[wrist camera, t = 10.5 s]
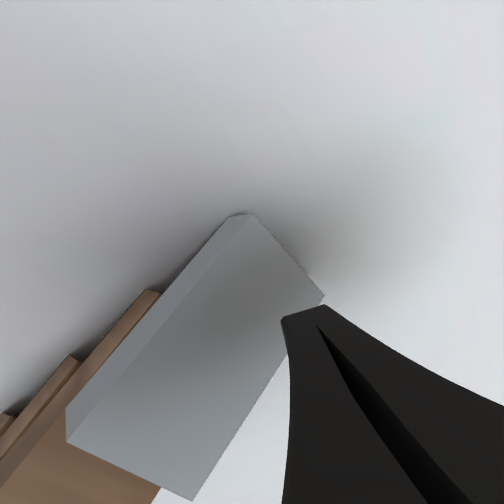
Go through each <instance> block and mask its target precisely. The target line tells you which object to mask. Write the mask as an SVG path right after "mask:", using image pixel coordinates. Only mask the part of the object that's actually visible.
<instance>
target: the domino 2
mask: <svg viewBox="0 0 504 504" xmlns="http://www.w3.org/2000/svg"><path fill="white" fill-rule="evenodd" d="M323 297H324V294H323V293H322V292H321V290H320V289H319V288H318V287H317V286H316V285H315V284H314V282H313V281H312V280H311V279H310V278H309V277H308V276H307V274H306V273H305V272H304V271H303V270H302V269H301V268H300V266H299V265H298V264H297V263H296V262H295V261H294V259H293V258H292V257H291V256H290V255H289V254H288V253H287V251H286V250H285V249H284V248H283V247H282V246H281V245H280V243H279V242H278V241H277V240H276V239H275V238H274V237H273V235H272V234H271V233H270V232H269V231H268V230H267V229H266V227H265V226H264V225H263V224H262V223H261V222H260V221H259V219H258V218H257V217H256V216H255V215H254V214H246V215H238V216H230V217H228V218H227V219H226V220H225V222H224V223H223V224H222V225H221V226H220V227H219V229H218V230H217V231H216V232H215V233H214V235H213V236H212V237H211V238H210V239H209V240H208V242H207V243H206V244H205V245H204V246H203V247H202V249H201V250H200V251H199V252H198V253H197V255H196V256H195V257H194V258H193V259H192V260H191V262H190V263H189V264H188V265H187V266H186V267H185V269H184V270H183V271H182V272H181V273H180V274H179V276H178V277H177V278H176V279H175V280H174V282H173V283H172V284H171V285H170V286H169V287H168V289H167V290H166V291H165V292H164V293H163V294H162V296H161V297H160V298H159V299H158V300H157V301H156V303H155V304H154V305H153V306H152V307H151V309H150V310H149V311H148V312H147V313H146V314H145V316H144V317H143V318H142V319H141V320H140V321H139V323H138V324H137V325H136V326H135V327H134V329H133V330H132V331H131V332H130V333H129V334H128V336H127V337H126V338H125V339H124V340H123V341H122V343H121V344H120V345H119V346H118V347H117V348H116V350H115V351H114V352H113V353H112V354H111V356H110V357H109V358H108V359H107V360H106V361H105V363H104V364H103V365H102V366H101V367H100V368H99V370H98V371H97V372H96V373H95V374H94V375H93V377H92V378H91V379H90V380H89V381H88V383H87V384H86V385H85V386H84V387H83V388H82V390H81V391H80V392H79V393H78V394H77V395H76V397H75V398H74V399H73V400H72V401H71V402H70V404H69V405H68V406H67V407H66V408H65V413H66V442H67V443H69V444H71V445H74V446H76V447H78V448H80V449H82V450H84V451H86V452H88V453H90V454H93V455H95V456H97V457H99V458H101V459H103V460H105V461H107V462H109V463H112V464H114V465H116V466H118V467H120V468H122V469H124V470H126V471H128V472H131V473H133V474H135V475H137V476H139V477H141V478H143V479H145V480H147V481H150V482H152V483H154V484H156V485H158V486H160V487H162V488H164V489H167V490H169V491H171V492H173V493H175V494H177V495H179V496H181V497H183V498H186V499H188V500H190V501H193V500H194V498H195V497H196V495H197V493H198V492H199V490H200V489H201V487H202V486H203V484H204V483H205V481H206V479H207V478H208V476H209V475H210V473H211V472H212V470H213V469H214V467H215V465H216V464H217V462H218V461H219V459H220V458H221V456H222V454H223V453H224V451H225V450H226V448H227V447H228V445H229V444H230V442H231V440H232V439H233V437H234V436H235V434H236V433H237V431H238V430H239V428H240V426H241V425H242V423H243V422H244V420H245V419H246V417H247V415H248V414H249V412H250V411H251V409H252V408H253V406H254V405H255V403H256V401H257V400H258V398H259V397H260V395H261V394H262V392H263V391H264V389H265V387H266V386H267V384H268V383H269V381H270V380H271V378H272V377H273V375H274V373H275V372H276V370H277V369H278V367H279V366H280V364H281V362H282V361H283V359H284V358H285V356H286V355H287V349H286V344H285V340H284V336H283V331H282V327H281V322H280V320H281V319H282V318H283V316H287V315H290V314H293V313H297V312H300V311H303V310H307V309H310V308H313V307H317V306H318V305H319V303H320V302H321V300H322V299H323Z"/></svg>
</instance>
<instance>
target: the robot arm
mask: <svg viewBox="0 0 504 504" xmlns="http://www.w3.org/2000/svg"><path fill="white" fill-rule="evenodd" d="M280 322H281V327H282V331H283V336H284V340H285V344H286V349H287V353H288V358H289V369H290V420H289V437H288V450H287V461H286V470H285V479H284V488H283V496H282V504H504V406H503V405H500V404H498V403H496V402H494V401H491V400H489V399H487V398H485V397H482V396H480V395H478V394H476V393H474V392H472V391H470V390H468V389H466V388H464V387H462V386H459V385H457V384H455V383H453V382H451V381H449V380H447V379H445V378H443V377H441V376H439V375H438V374H436V373H434V372H432V371H430V370H428V369H426V368H425V367H423V366H421V365H419V364H417V363H416V362H414V361H412V360H410V359H408V358H407V357H405V356H403V355H402V354H400V353H398V352H397V351H395V350H393V349H392V348H390V347H388V346H387V345H385V344H384V343H382V342H380V341H379V340H377V339H376V338H374V337H372V336H371V335H369V334H368V333H366V332H365V331H363V330H362V329H360V328H359V327H357V326H356V325H354V324H353V323H351V322H350V321H348V320H347V319H346V318H344V317H343V316H341V315H340V314H338V313H337V312H336V311H334V310H333V309H331V308H330V307H328V306H327V305H325V304H323V305H320V306H317V307H313V308H310V309H307V310H303V311H300V312H297V313H293V314H290V315H287V316H283V318H282V319H281V320H280Z"/></svg>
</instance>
